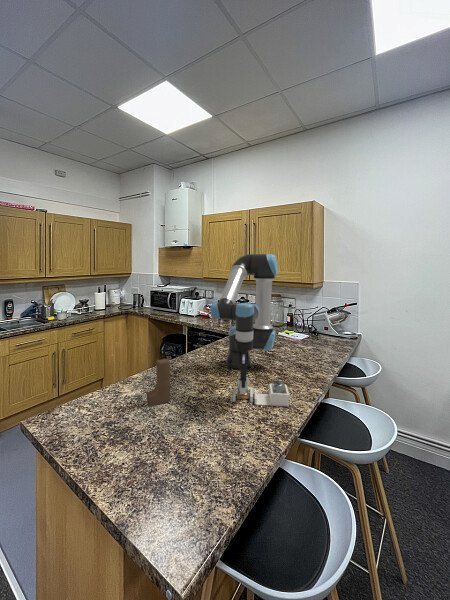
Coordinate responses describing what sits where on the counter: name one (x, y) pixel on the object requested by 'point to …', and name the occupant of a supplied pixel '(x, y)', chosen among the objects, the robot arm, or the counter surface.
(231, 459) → the counter surface
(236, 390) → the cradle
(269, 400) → the rack
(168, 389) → the wooden block
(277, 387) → the cell
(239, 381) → the cell
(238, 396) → the plate
